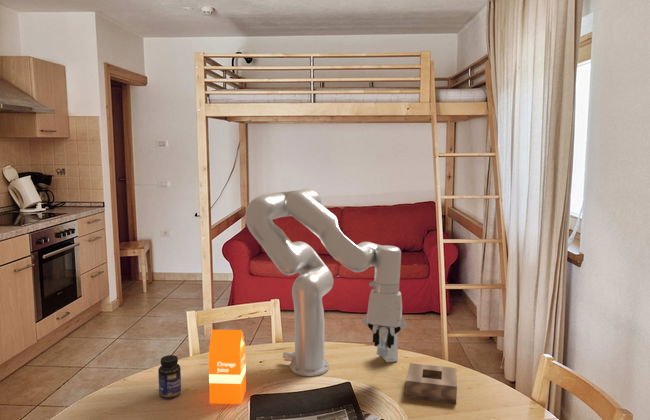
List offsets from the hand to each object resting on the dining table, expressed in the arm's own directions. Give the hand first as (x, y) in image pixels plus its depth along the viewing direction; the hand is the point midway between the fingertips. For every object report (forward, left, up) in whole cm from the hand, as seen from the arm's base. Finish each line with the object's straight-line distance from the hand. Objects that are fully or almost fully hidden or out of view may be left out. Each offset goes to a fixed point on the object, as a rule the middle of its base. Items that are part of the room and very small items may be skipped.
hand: (383, 345), depth 149 cm
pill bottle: (-58, -24, -12) cm, 64 cm away
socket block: (+15, -2, -12) cm, 19 cm away
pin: (0, 0, -3) cm, 3 cm away
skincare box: (0, +17, -12) cm, 21 cm away
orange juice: (-41, -21, -12) cm, 48 cm away
